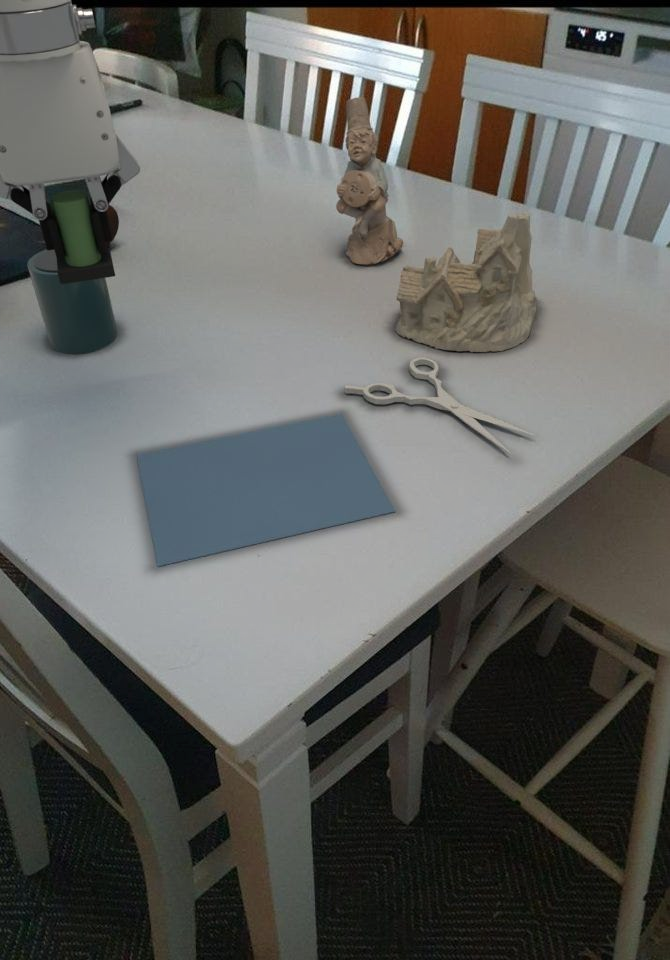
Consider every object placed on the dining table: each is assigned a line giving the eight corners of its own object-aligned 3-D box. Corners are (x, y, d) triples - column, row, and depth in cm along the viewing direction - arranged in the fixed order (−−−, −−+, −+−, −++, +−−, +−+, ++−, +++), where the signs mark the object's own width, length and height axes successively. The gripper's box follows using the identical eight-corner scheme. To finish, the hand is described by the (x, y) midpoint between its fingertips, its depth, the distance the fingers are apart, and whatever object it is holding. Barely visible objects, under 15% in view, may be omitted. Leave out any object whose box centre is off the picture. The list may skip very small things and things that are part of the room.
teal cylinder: (51, 359, 94) (27, 278, 87) (49, 327, 100) (26, 249, 93) (120, 347, 96) (102, 266, 89) (114, 316, 102) (96, 239, 95)
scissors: (411, 349, 91) (560, 420, 80) (411, 355, 92) (559, 426, 80) (343, 386, 86) (492, 468, 74) (343, 392, 86) (492, 474, 75)
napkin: (157, 567, 67) (157, 566, 67) (136, 455, 79) (136, 454, 79) (395, 512, 71) (395, 511, 71) (341, 414, 83) (341, 413, 83)
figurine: (352, 238, 118) (349, 90, 105) (408, 245, 115) (412, 94, 103) (331, 264, 111) (325, 109, 99) (390, 271, 109) (392, 114, 96)
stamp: (60, 284, 75) (40, 208, 70) (59, 267, 78) (39, 192, 73) (115, 276, 76) (98, 200, 71) (112, 259, 79) (95, 185, 74)
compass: (89, 235, 122) (78, 187, 117) (126, 246, 118) (116, 197, 114) (47, 255, 117) (34, 205, 112) (85, 267, 113) (72, 216, 109)
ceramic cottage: (550, 299, 101) (558, 179, 91) (511, 368, 90) (515, 239, 80) (432, 285, 107) (429, 171, 97) (383, 348, 96) (373, 226, 87)
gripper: (128, 13, 68) (165, 225, 80) (-78, 32, 65) (-9, 250, 77) (138, 30, 63) (175, 255, 74) (-88, 51, 59) (-12, 283, 71)
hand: (81, 250), depth 75 cm, fingers closed on stamp, 3 cm apart
